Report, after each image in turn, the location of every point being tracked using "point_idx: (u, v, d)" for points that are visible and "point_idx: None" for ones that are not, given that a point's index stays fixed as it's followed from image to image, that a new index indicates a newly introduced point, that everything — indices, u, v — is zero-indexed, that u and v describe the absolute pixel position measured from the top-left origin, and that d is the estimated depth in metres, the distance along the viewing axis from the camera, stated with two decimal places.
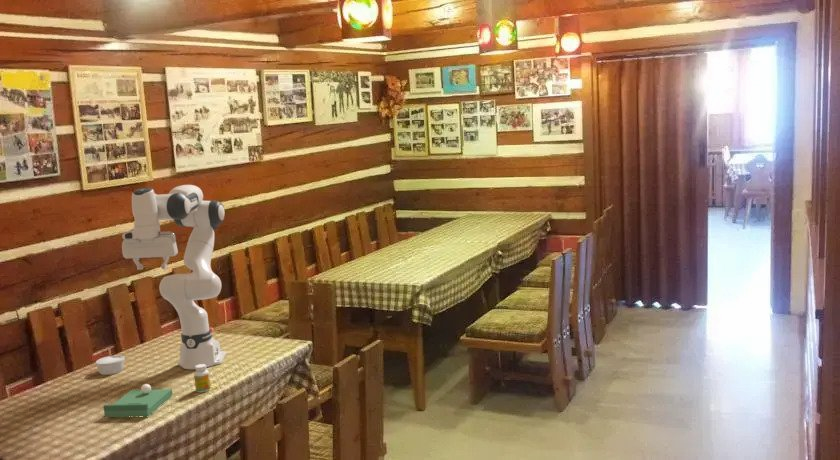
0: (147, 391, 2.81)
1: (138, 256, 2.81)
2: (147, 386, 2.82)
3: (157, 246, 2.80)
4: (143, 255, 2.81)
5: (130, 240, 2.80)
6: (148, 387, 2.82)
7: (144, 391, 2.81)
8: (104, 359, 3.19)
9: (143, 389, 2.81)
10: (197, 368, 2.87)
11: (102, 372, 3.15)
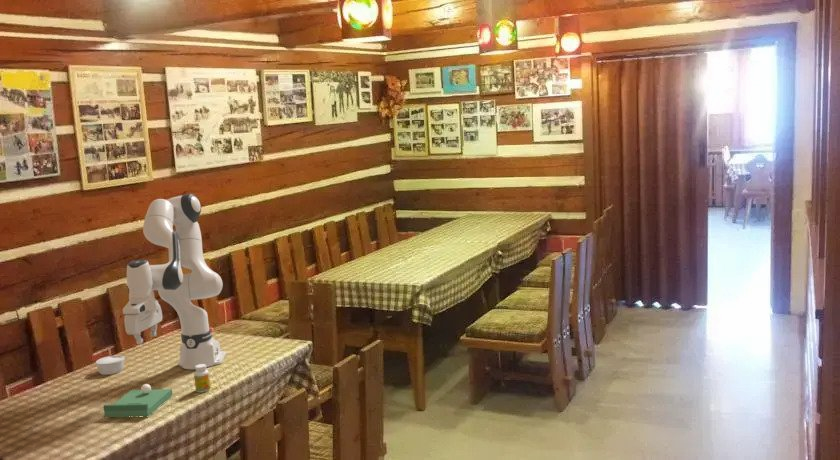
0: (147, 391, 2.81)
1: (144, 328, 2.80)
2: (147, 386, 2.82)
3: (153, 314, 2.87)
4: (146, 326, 2.82)
5: (141, 313, 2.77)
6: (148, 387, 2.82)
7: (144, 391, 2.81)
8: (104, 359, 3.19)
9: (143, 389, 2.81)
10: (197, 368, 2.87)
11: (102, 372, 3.15)
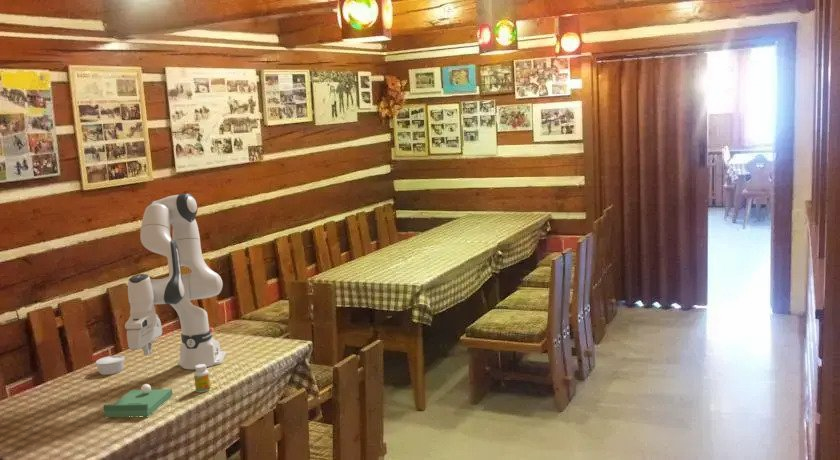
0: (147, 391, 2.81)
1: (146, 343, 2.81)
2: (147, 386, 2.82)
3: (154, 328, 2.88)
4: (148, 341, 2.82)
5: (144, 328, 2.78)
6: (148, 387, 2.82)
7: (144, 391, 2.81)
8: (104, 359, 3.19)
9: (143, 389, 2.81)
10: (197, 368, 2.87)
11: (102, 372, 3.15)
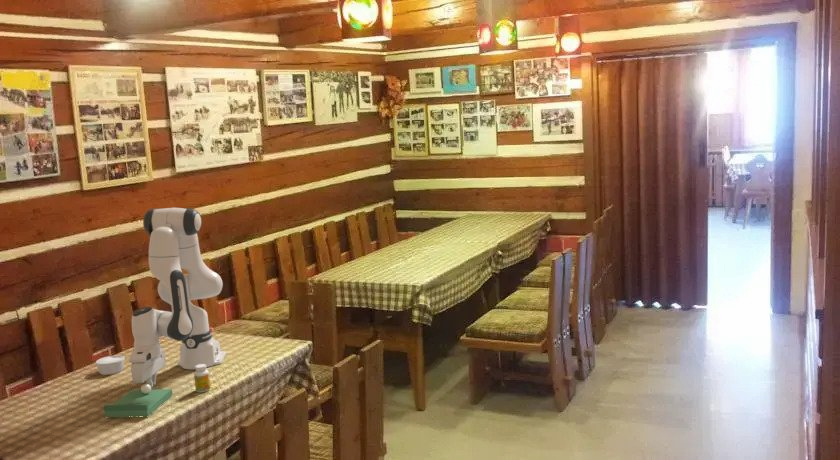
0: (147, 391, 2.81)
1: (150, 376, 2.82)
2: (147, 386, 2.82)
3: (157, 360, 2.89)
4: (152, 373, 2.84)
5: (148, 361, 2.79)
6: (148, 387, 2.82)
7: (144, 391, 2.81)
8: (104, 359, 3.19)
9: (143, 389, 2.81)
10: (197, 368, 2.87)
11: (102, 372, 3.15)
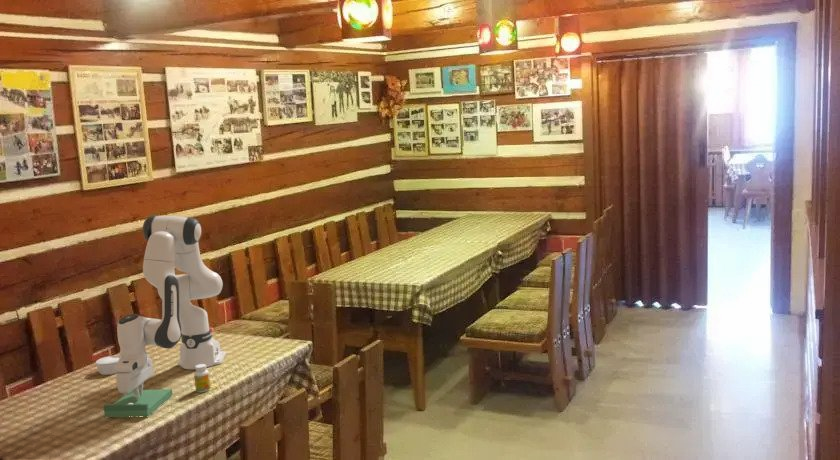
0: None
1: (136, 386, 2.72)
2: None
3: (144, 369, 2.79)
4: (138, 383, 2.74)
5: (134, 371, 2.69)
6: None
7: None
8: (104, 359, 3.19)
9: None
10: (197, 368, 2.87)
11: (102, 372, 3.15)
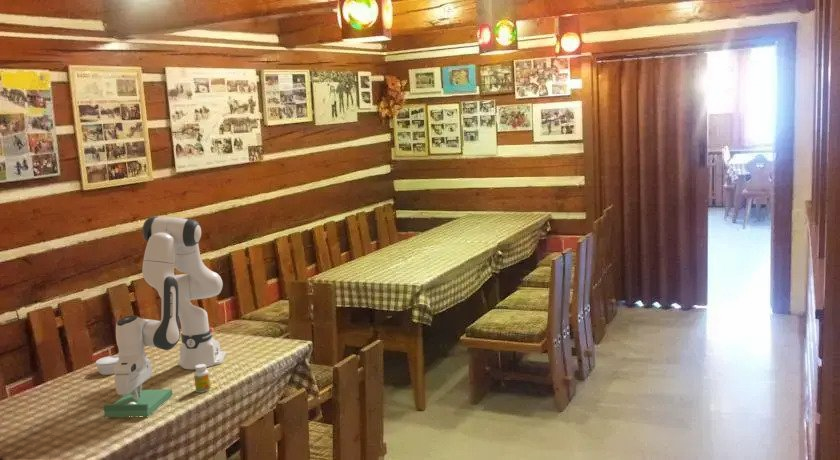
0: None
1: (135, 387, 2.71)
2: None
3: (143, 371, 2.78)
4: (137, 385, 2.73)
5: (132, 372, 2.68)
6: None
7: None
8: (104, 359, 3.19)
9: None
10: (197, 368, 2.87)
11: (102, 372, 3.15)
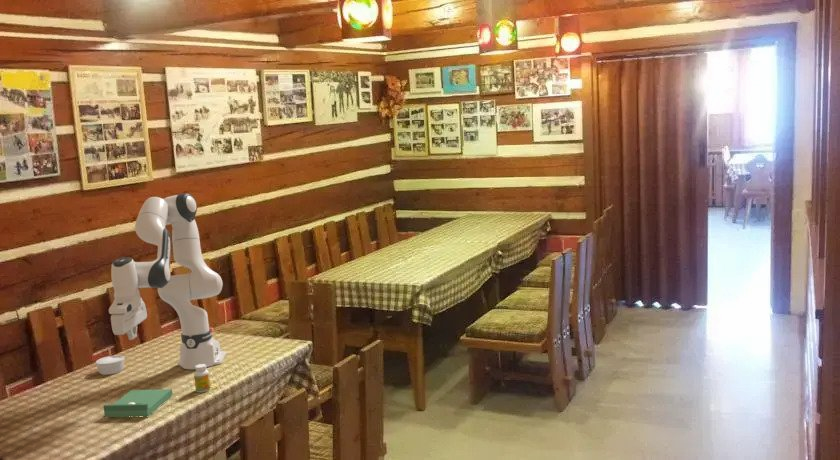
0: None
1: (130, 328, 2.76)
2: None
3: (138, 312, 2.83)
4: (133, 325, 2.78)
5: (128, 313, 2.73)
6: None
7: None
8: (104, 359, 3.19)
9: None
10: (197, 368, 2.87)
11: (102, 372, 3.15)
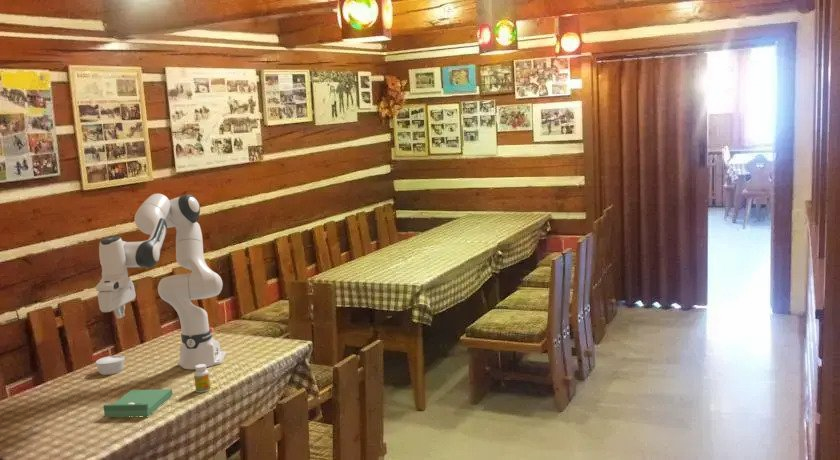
0: None
1: (118, 306, 2.77)
2: None
3: (126, 291, 2.85)
4: (120, 304, 2.79)
5: (115, 290, 2.75)
6: None
7: None
8: (104, 359, 3.19)
9: None
10: (197, 368, 2.87)
11: (102, 372, 3.15)
